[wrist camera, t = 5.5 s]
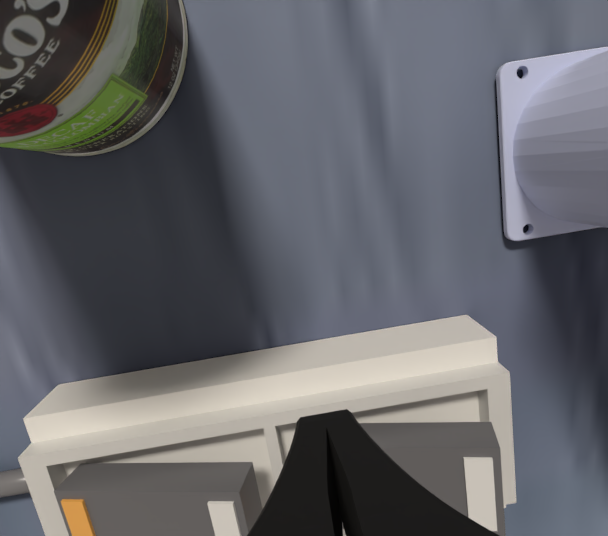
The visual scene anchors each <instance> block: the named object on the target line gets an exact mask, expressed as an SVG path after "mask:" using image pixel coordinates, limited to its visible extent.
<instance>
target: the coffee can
mask: <svg viewBox="0 0 608 536" xmlns="http://www.w3.org/2000/svg"><path fill="white" fill-rule="evenodd" d="M187 49H188V33H187V21H186V15H185V10H184V6H183V2H182V0H0V147H5V148H16V149H20V150H32V151H43V152H46V153H52V154H57V155H64V156H90V155H97V154H102V153H106V152H110V151H113V150H116V149H119V148H122V147H125V146H126V145H128V144H130V143H132V142H134V141H135V140H137V139H138V138H140V137H141V136H143V135H144V134H145V133H146V132H147V131H149V130H150V129H151V128H152V127H153V126H154V125H155V124H156V123H157V122H158V121H159V120H160V118H161V117H162V116H163V115H164V113H165V112H166V110H167V109H168V107H169V106H170V104H171V103H172V101H173V99H174V97H175V95H176V93H177V91H178V89H179V86H180V83H181V81H182V78H183V74H184V70H185V64H186V58H187Z"/></svg>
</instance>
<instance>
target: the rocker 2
mask: <svg viewBox="0 0 608 536" xmlns="http://www.w3.org/2000/svg"><path fill="white" fill-rule="evenodd" d="M359 424H360V425H361V426H362V428H363V429H364V430H365V431H366V432H367V434H368V435H369V436H370V437H371V438H372V439H373V440H374V441H375V443H376V444H377V445H378V446H379V447H380V448H381V449H382V450H383V451H384V452H385V453H386V454H387V455H388V456H389V457H390V458H391V459H392V460H393V461H394V462H395V463H396V464H398V465H399V466H400V467H401V468H402V469H403V470H404V471H405V472H407V473H408V474H409V475H410V476H411V477H412V478H413V479H415V480H416V481H417V482H418V483H419V484H421V485H422V486H423V487H425V488H426V489H427V490H428V491H430V492H431V493H432V494H434V495H435V496H436V497H438V498H439V499H441V500H442V501H443V502H445V503H446V504H448V505H449V506H451V507H452V508H454V509H455V510H457V511H458V512H460V513H462V514H463V515H465V516H467V517H468V518H470V519H472V520H473V521H475V522H477V523H478V524H480V525H482V526H483V527H485V528H487V529H489V530H490V531H492V532H494V533H496V534H498V535H499V536H505V520H504V503H503V486H502V469H501V452H500V446H499V443H498V440H497V437H496V434H495V431H494V428H493V425H492V423H491V422H416V423H359ZM342 529H344V527H343V523H342Z"/></svg>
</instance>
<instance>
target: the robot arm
mask: <svg viewBox="0 0 608 536" xmlns="http://www.w3.org/2000/svg"><path fill="white" fill-rule="evenodd" d="M518 68H520V69H522V71H523V77H522V78H519V77H518V76H517V69H518ZM496 85H497V105H498V125H499V145H500V165H501V185H502V205H503V225H504V234H505V236H506V238H507V239H509V240H512V241H522V240H528V239H534V238H540V237H546V236H552V235H557V234H563V233H569V232H575V231H581V230H587V229H593V228H599V227H606V228H608V47H601V48H595V49H589V50H582V51H576V52H570V53H564V54H557V55H551V56H545V57H538V58H532V59H526V60H519V61H513V62H509V63H506V64H504V65H502V66H501V67H500V68H499V69H498V71H497V74H496ZM526 224H528V226H529V229H528V231H527V232H526V233H523V227H524V226H525V225H526ZM342 523H343V527H344V530H345V534H346V536H499V535H498V534H496V533H494V532H492V531H490V530H489V529H487V528H485V527H483V526H482V525H480V524H478V523H477V522H475V521H473V520H472V519H470V518H468V517H467V516H465V515H463V514H462V513H460V512H458V511H457V510H455V509H454V508H452V507H451V506H449V505H448V504H446V503H445V502H443V501H442V500H441V499H439V498H438V497H436V496H435V495H434V494H432V493H431V492H430V491H428V490H427V489H426V488H425V487H423V486H422V485H421V484H419V483H418V482H417V481H416V480H415V479H413V478H412V477H411V476H410V475H409V474H408V473H407V472H405V471H404V470H403V469H402V468H401V467H400V466H399V465H398V464H396V463H395V462H394V461H393V460H392V459H391V458H390V457H389V456H388V455H387V454H386V453H385V452H384V451H383V450H382V449H381V448H380V447H379V446H378V445H377V444H376V443H375V441H374V440H373V439H372V438H371V437H370V436H369V435H368V434H367V432H366V431H365V430H364V429H363V428H362V426H361V425H360V424H359V423H358V421H357V420H356V419H355V417H354V416H353V414H352V413H351V412H350V411H349V410H347V409H344V410H339V411H333V412H327V413H322V414H316V415H311V416H305V417H300V418H299V420H298V421H297V423H296V429H295V433H294V437H293V440H292V443H291V446H290V449H289V452H288V455H287V457H286V460H285V463H284V465H283V468H282V470H281V473H280V475H279V477H278V479H277V481H276V484H275V486H274V488H273V490H272V492H271V494H270V496H269V498H268V500H267V502H266V504H265V506H264V508H263V510H262V511H261V513H260V515H259V517H258V518H257V520H256V522H255V523H254V525H253V527H252V528H251V530H250V532H249V533H248V535H247V536H343V529H342Z"/></svg>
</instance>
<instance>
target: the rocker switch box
mask: <svg viewBox="0 0 608 536" xmlns="http://www.w3.org/2000/svg"><path fill="white" fill-rule="evenodd" d="M344 409H347V410H349V411H350V412H351V413H352V414H353V416H354V417H355V419H356V420H357V421H358V423H416V422H491V423H492V425H493V428H494V431H495V434H496V437H497V440H498V443H499V446H500V452H501V469H502V486H503V503H504V508H506V504H511V503H516V487H515V467H514V447H513V427H512V408H511V388H510V372H509V371H508V370H507V369H505V368H504V367H503V366H502V365H501V364H500V363H499V362H498V357H497V340H496V336H494V335H493V334H492V333H490V332H489V331H488V330H486V329H485V328H484V327H482V326H481V325H480V324H478V323H477V322H476V321H475V320H473V319H472V318H471V317H469V316H468V315H462V316H456V317H450V318H444V319H438V320H432V321H427V322H421V323H415V324H409V325H403V326H397V327H392V328H386V329H380V330H374V331H368V332H362V333H357V334H351V335H345V336H339V337H333V338H327V339H321V340H316V341H310V342H304V343H298V344H292V345H286V346H281V347H275V348H269V349H263V350H257V351H251V352H245V353H240V354H234V355H228V356H222V357H216V358H210V359H205V360H199V361H193V362H187V363H181V364H175V365H170V366H164V367H158V368H152V369H146V370H140V371H134V372H129V373H123V374H117V375H111V376H105V377H99V378H94V379H88V380H82V381H76V382H70V383H64V384H59V385H58V386H57V387H56V388H54V389H53V390H52V391H51V392H50V393H49V394H48V395H47V396H46V397H45V398H44V399H43V400H42V401H41V402H40V403H39V404H38V405H37V406H36V407H35V408H34V409H33V410H32V411H31V412H29V413H28V414H27V415H26V416H25V417H24V418H23V420H24V423H25V426H26V428H27V431H28V434H29V437H30V440H31V444H30V445H29V446H28V447H27V448H26V449H25V451H24V452H23V453H22V454H21V455H20V456H19V457H18V460H19V463H20V466H21V468H19V469H14V470H8V471H2V472H0V498H1V497H7V496H13V495H18V494H24V493H30V494H31V496H32V499H33V502H34V505H35V508H36V510H37V513H38V516H39V519H40V521H41V524H42V527H43V530H44V533H45V535H46V536H69V534H68V531H67V528H66V525H65V523H64V520H63V517H62V514H61V511H60V508H59V505H58V502H57V499H56V496H55V494H54V490H55V489H56V488H57V487H58V486H59V485H60V484H61V483H62V482H63V481H64V480H65V479H66V478H67V477H68V476H69V475H70V474H71V473H72V472H73V471H74V470H75V469H76V468H77V467H78V466H79V465H80V464H81V463H186V462H253V467H254V471H255V476H256V481H257V485H258V490H259V495H260V499H261V504H262V509H263V508H264V506H265V504H266V502H267V500H268V498H269V496H270V494H271V492H272V490H273V488H274V486H275V484H276V481H277V479H278V477H279V475H280V473H281V470H282V468H283V465H284V463H285V460H286V457H287V455H288V452H289V449H290V446H291V443H292V440H293V437H294V433H295V429H296V423H297V421H298V420H299V418H300V417H305V416H311V415H316V414H322V413H327V412H333V411H339V410H344ZM343 536H346V534H345V530H344V529H343Z"/></svg>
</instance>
